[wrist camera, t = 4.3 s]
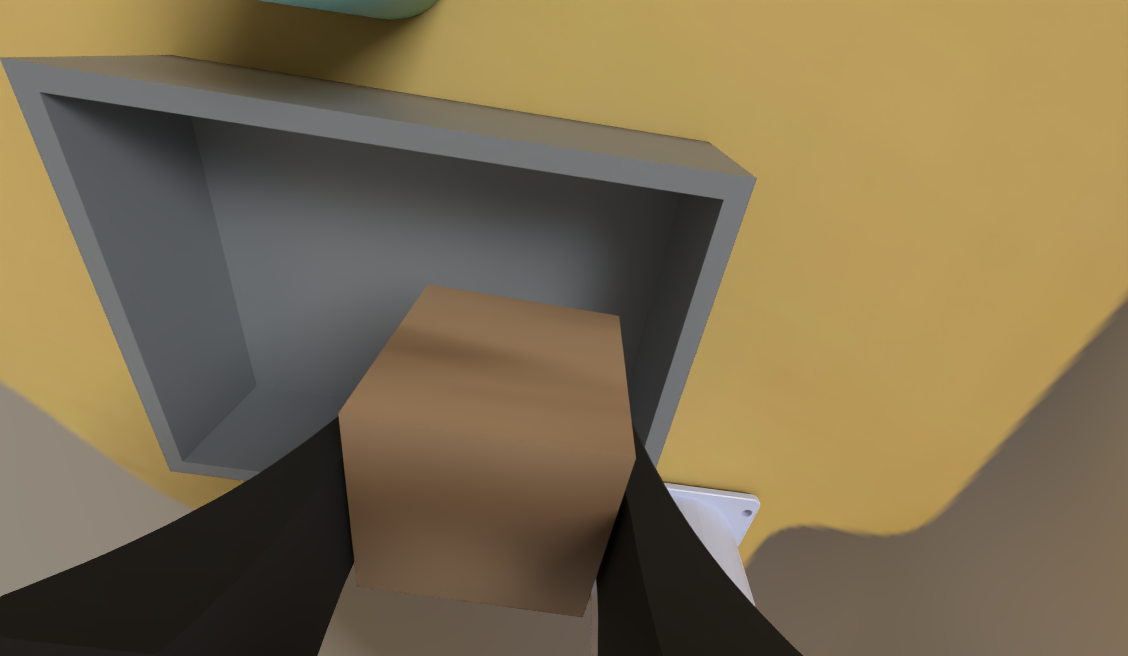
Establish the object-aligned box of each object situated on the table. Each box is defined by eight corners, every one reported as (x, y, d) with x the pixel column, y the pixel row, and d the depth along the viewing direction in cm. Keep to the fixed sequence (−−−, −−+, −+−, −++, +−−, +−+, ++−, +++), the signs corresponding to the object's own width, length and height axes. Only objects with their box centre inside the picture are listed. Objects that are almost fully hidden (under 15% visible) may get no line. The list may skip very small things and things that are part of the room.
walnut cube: (584, 452, 15) (582, 617, 10) (425, 428, 15) (356, 586, 10) (618, 315, 12) (635, 458, 8) (427, 284, 12) (338, 413, 8)
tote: (624, 436, 22) (634, 530, 18) (253, 386, 21) (170, 471, 17) (708, 142, 15) (757, 178, 11) (171, 55, 15) (-1, 57, 10)
